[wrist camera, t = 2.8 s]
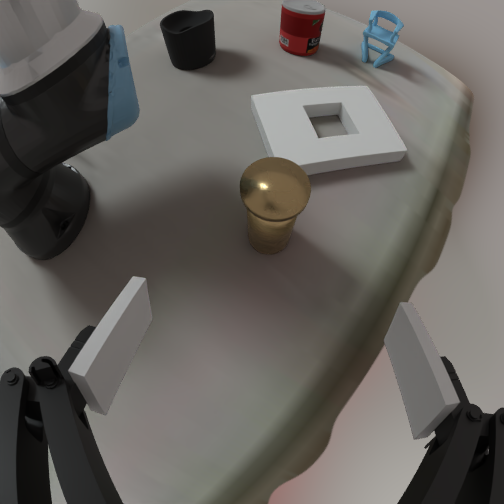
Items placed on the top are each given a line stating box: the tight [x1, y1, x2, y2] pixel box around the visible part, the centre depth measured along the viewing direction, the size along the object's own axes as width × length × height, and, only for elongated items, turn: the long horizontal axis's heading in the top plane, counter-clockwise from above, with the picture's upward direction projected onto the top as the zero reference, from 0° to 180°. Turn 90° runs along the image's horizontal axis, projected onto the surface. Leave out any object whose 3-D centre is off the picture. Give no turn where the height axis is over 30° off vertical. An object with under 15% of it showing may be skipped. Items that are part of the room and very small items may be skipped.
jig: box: [251, 86, 407, 175], centre depth 39 cm, size 20×14×3 cm
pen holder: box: [160, 10, 216, 70], centre depth 42 cm, size 9×9×10 cm
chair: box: [362, 11, 404, 68], centre depth 42 cm, size 8×8×12 cm
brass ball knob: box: [240, 157, 311, 254], centre depth 30 cm, size 6×6×12 cm
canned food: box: [279, 0, 325, 56], centre depth 42 cm, size 8×8×11 cm
